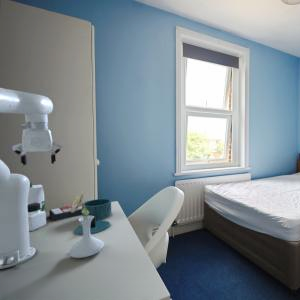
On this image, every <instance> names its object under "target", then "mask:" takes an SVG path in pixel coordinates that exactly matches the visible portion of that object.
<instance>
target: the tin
mask: <svg viewBox="0 0 300 300" xmlns="http://www.w3.org/2000/svg"><path fill="white" fill-rule="evenodd" d="M82 203H83V205H84V206H85V208H86V209H87V210H88V211H89V214H88V215H87V216H94V215H95V216H96V221H103V220H105V219H109V218H110V217H111V216H112V200H111V199H109V198H97V199H91V200H87V201H84V202H82ZM81 205H82V204H81ZM83 205H82V209H83V208H84V207H83ZM84 216H85V215H84V214H82V215H81V217H84Z"/></svg>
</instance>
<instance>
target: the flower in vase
mask: <svg viewBox="0 0 300 300" xmlns="http://www.w3.org/2000/svg"><path fill="white" fill-rule="evenodd" d="M84 198H85V192H84V191H80V192H79V193H78V194H77V195H76V197H75V199H74V201H73V202H72V205H71V206H72V208H71V209H70V210H72V211H71V213H72V212H75V211H76V210H77V209H78V207H79V206H80V205H83V203H84V202H83V200H84ZM83 207H84V208H83V209H82V214H84V215H85V216H84V217H82V216H81V217H79V218H78V222H79V223H80V224H81V225H82V227H83V235H82V237H81V239H80V240H79V241H77V242H76V243H75V244H73V246H71V248H70V249H69V252H68V255H69V256H70V257H71V258H74V259H83V258H88V257H91V256H93V255H95V254H97V253H99V252H100V251H102V250H103V249H104V247H105V243H104V241H102V239H100V238H98V237H95V236H93V235H92V234H90V224H91V221H92V219H93V218H94V216H87V215H88V214H89V211H88V210H87V209H86V208H85V206H84V205H83Z"/></svg>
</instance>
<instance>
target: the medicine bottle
mask: <svg viewBox="0 0 300 300" xmlns="http://www.w3.org/2000/svg"><path fill="white" fill-rule="evenodd" d="M27 205H28V224H29V232H34V231H36V230H38V229H39V228H41V227H43V226H45V225H47V212H46V211H41V208H40V203H29V204H27Z"/></svg>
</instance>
